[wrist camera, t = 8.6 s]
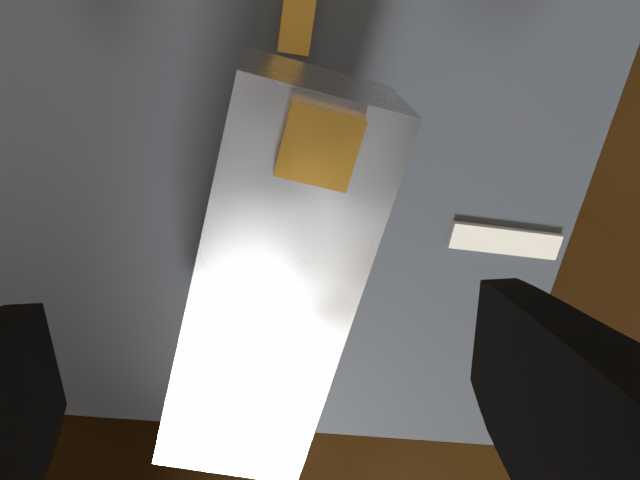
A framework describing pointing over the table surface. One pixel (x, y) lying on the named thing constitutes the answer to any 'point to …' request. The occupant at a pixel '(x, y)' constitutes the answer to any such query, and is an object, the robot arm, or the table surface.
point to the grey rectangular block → (281, 263)
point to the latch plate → (201, 159)
